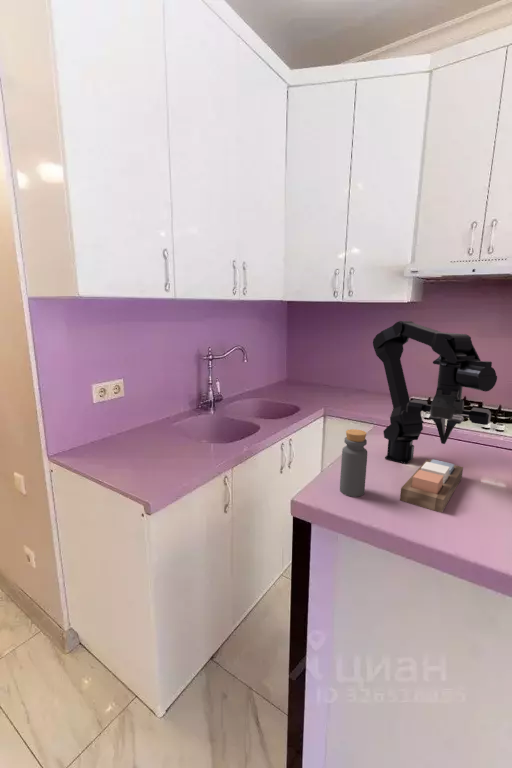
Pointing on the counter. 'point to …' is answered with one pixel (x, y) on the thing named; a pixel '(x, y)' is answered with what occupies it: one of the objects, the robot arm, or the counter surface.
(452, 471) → the button slate
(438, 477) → the button terracotta
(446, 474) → the button cream
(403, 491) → the wooden compartment tray
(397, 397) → the robot arm
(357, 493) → the bottle
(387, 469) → the counter surface
